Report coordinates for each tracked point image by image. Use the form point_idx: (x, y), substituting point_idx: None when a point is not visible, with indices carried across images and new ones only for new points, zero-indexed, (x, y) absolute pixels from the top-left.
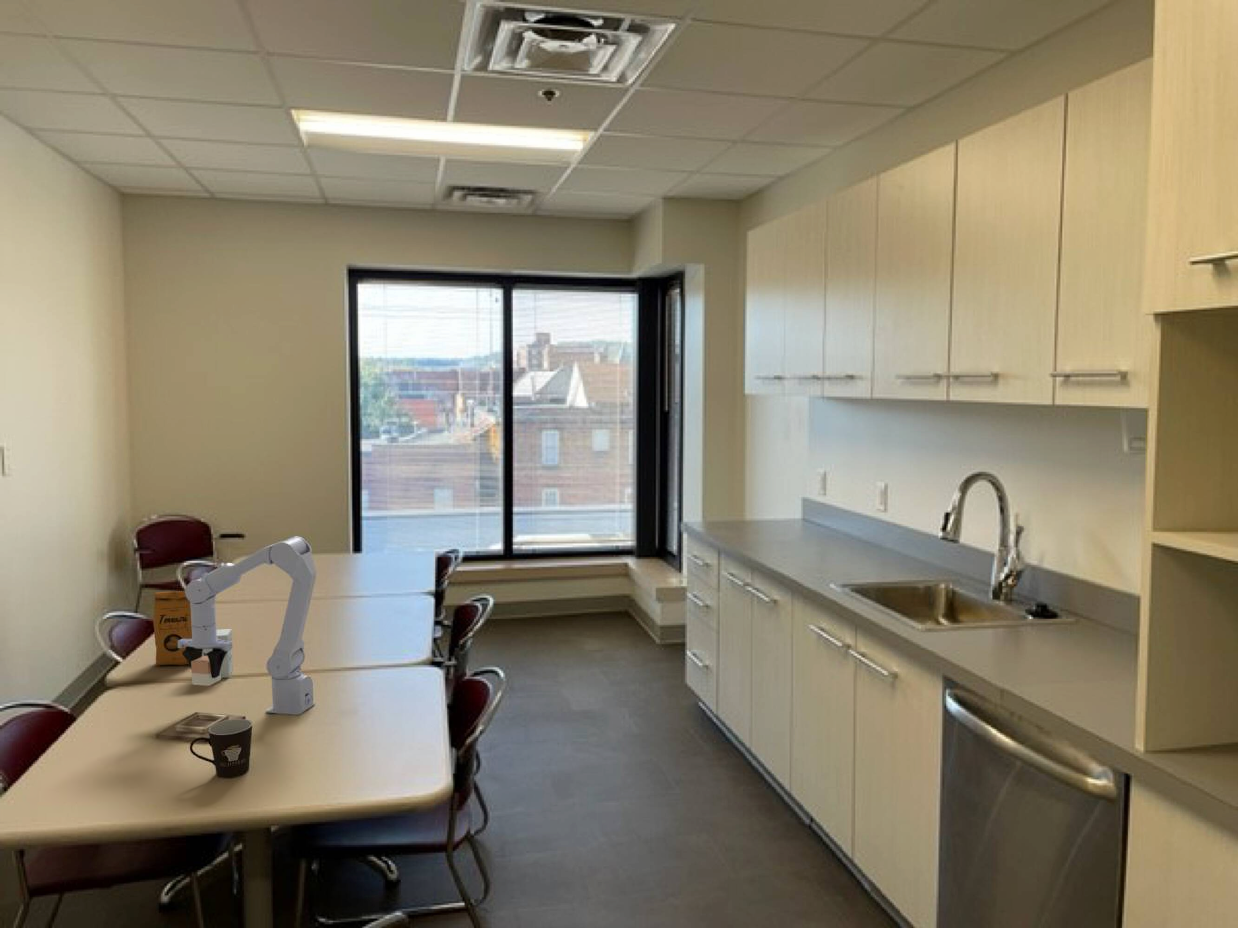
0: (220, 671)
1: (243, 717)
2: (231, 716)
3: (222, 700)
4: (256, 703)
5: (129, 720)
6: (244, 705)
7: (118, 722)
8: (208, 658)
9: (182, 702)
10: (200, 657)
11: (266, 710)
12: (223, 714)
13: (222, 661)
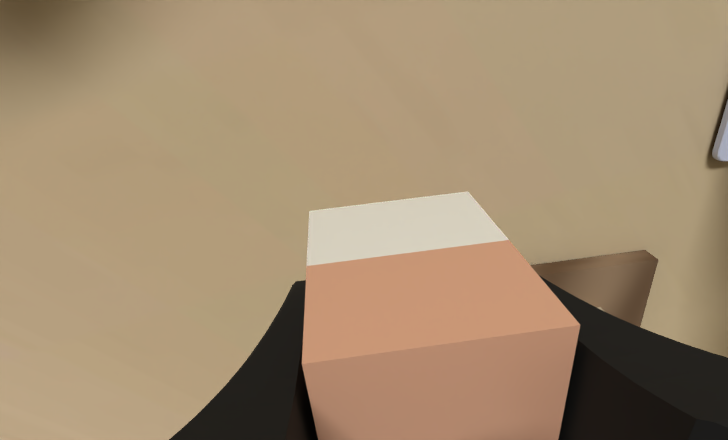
0: (493, 225)
1: (654, 271)
2: (595, 280)
3: (365, 67)
4: (602, 49)
5: (155, 394)
6: (547, 99)
7: (135, 417)
8: (461, 411)
9: (160, 169)
10: (320, 417)
11: (722, 156)
12: (546, 275)
13: (614, 322)
